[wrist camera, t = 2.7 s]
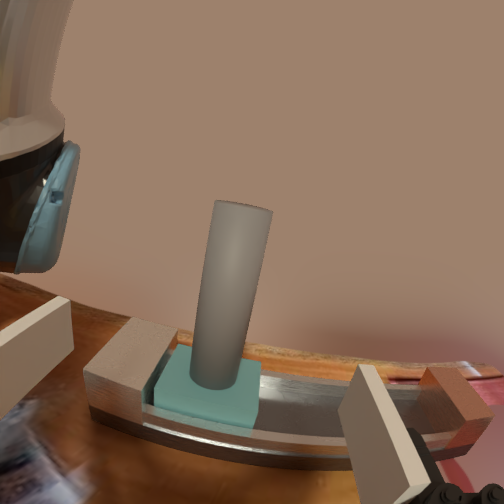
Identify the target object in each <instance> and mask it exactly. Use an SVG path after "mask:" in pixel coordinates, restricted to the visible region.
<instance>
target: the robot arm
mask: <svg viewBox="0 0 504 504" xmlns="http://www.w3.org/2000/svg"><path fill="white" fill-rule="evenodd" d="M73 1H74V0H0V272H7V273H14V274H19V273H43V272H46V271H47V270H50V269H51V268H52V267H53V266H54V265H55V264H56V262H57V260H58V257H59V253H60V250H61V246H62V241H63V237H64V232H65V227H66V223H67V218H68V213H69V208H70V204H71V199H72V194H73V189H74V185H75V180H76V175H77V170H78V165H79V159H80V147H79V146H78V145H77V144H74V143H73V142H72V141H67V142H65V143H64V142H63V136H64V126H65V118H64V116H63V114H62V113H61V112H60V111H59V110H58V109H57V108H56V107H55V106H54V105H53V103H52V101H51V99H50V98H51V91H52V84H53V78H54V73H55V68H56V63H57V59H58V54H59V50H60V45H61V41H62V37H63V34H64V29H65V26H66V23H67V19H68V16H69V13H70V10H71V7H72V4H73ZM73 350H74V341H73V331H72V319H71V302H70V300H69V299H66V298H64V297H61V296H57V297H55V298H54V299H52V300H50V301H49V302H47V303H45V304H44V305H42V306H40V307H39V308H37V309H35V310H34V311H32V312H30V313H29V314H27V315H25V316H24V317H22V318H21V319H19V320H17V321H16V322H14V323H13V324H11V325H9V326H8V327H6V328H5V329H3V330H2V331H0V420H1V419H2V418H3V417H4V416H5V415H6V414H7V413H8V412H9V411H10V410H11V409H12V408H13V407H14V406H15V405H16V404H17V403H18V402H19V401H20V400H21V399H22V398H23V397H24V396H25V395H26V394H27V393H28V392H29V391H30V390H31V389H32V388H33V387H34V386H35V385H37V384H38V383H39V382H40V381H41V380H42V379H43V378H44V377H45V376H46V375H47V374H48V373H49V372H50V371H51V370H52V369H53V368H54V367H56V366H57V365H58V364H59V363H60V362H61V361H62V360H63V359H64V358H65V357H66V356H67V355H68V354H70V353H71V352H72V351H73ZM338 414H339V418H340V421H341V425H342V429H343V433H344V437H345V440H346V444H347V448H348V452H349V456H350V460H351V464H352V468H353V472H354V477H355V481H356V485H357V489H358V494H359V498H360V502H361V504H504V489H503V488H502V487H501V486H499V485H497V484H488V485H487V486H485V487H484V488H483V489H482V490H481V491H480V492H479V493H463V491H462V490H461V489H460V488H459V487H458V486H456V485H454V484H451V483H445V482H444V480H443V477H442V475H441V473H440V471H439V469H438V467H437V465H436V463H435V461H434V459H433V457H432V455H430V451H429V449H428V447H426V446H427V445H426V443H425V441H424V439H423V437H422V436H421V435H420V434H419V433H418V432H417V431H416V430H415V429H414V428H405V425H404V423H403V421H402V419H401V417H400V415H399V413H398V411H397V409H396V407H395V405H394V403H393V402H392V400H391V398H390V396H389V394H388V392H387V390H386V388H385V386H384V384H383V382H382V380H381V378H380V376H379V375H378V373H377V371H376V369H375V367H374V365H363V364H358V366H357V368H356V371H355V373H354V375H353V378H352V380H351V382H350V384H349V387H348V389H347V391H346V393H345V395H344V398H343V400H342V402H341V404H340V406H339V408H338Z"/></svg>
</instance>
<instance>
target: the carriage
mask: <svg viewBox="0 0 504 504" xmlns="http://www.w3.org/2000/svg"><path fill="white" fill-rule="evenodd" d="M272 214H273V211H270V210H268V209H264V208H261V207H257V206H252V205H248V204H242V203H237V202H230V201H221V200H216V201H215V202H214V208H213V213H212V219H211V225H210V230H209V237H208V242H207V248H206V254H205V261H204V267H203V273H202V280H201V286H200V293H199V300H198V307H197V315H196V322H195V329H194V337H193V344H192V347H190V346H186V345H182V344H178V345H177V347H176V349H175V350H174V352H173V354H172V356H171V358H170V360H169V361H168V363H167V365H166V367H165V369H164V370H163V372H162V374H161V376H160V378H159V380H158V382H157V383H156V385H155V387H154V406H155V407H159V408H162V409H165V410H169V411H172V412H176V413H180V414H184V415H187V416H191V417H195V418H200V419H204V420H208V421H213V422H217V423H222V424H227V425H232V426H238V427H243V428H249V429H253V426H254V423H255V420H256V417H257V414H258V406H259V390H260V372H261V362H259V361H254V360H248V359H243V358H241V357H242V353H243V348H244V344H245V339H246V334H247V330H248V326H249V321H250V316H251V312H252V307H253V303H254V299H255V294H256V290H257V285H258V280H259V276H260V271H261V266H262V262H263V257H264V252H265V248H266V243H267V238H268V233H269V229H270V224H271V219H272Z"/></svg>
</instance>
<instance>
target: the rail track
mask: <svg viewBox="0 0 504 504" xmlns="http://www.w3.org/2000/svg"><path fill="white" fill-rule="evenodd" d="M177 336H178V329H176V328H172V327H168V326H165V325H161V324H157V323H154V322H150V321H146V320H143V319H140V318H136V317H132V318H131V319H130V320H129V321H128V322H127V323H126V324H125V325H124V326H123V327H122V328H121V329H120V330H119V331H118V332H117V333H116V334H115V335H114V336H113V337H112V338H111V339H110V340H109V342H108V343H107V344H106V345H105V346H104V347H103V348H102V349H101V350H100V351H99V352H98V353H97V354H96V355H95V356H94V357H93V359H92V360H91V361H90V362H89V363H88V364H87V365H86V366H85V367H84V368H83V373H84V380H85V386H86V392H87V398H88V403H89V408H90V413H91V418H92V420H94V421H97V422H99V423H101V424H104V425H106V426H109V427H111V428H114V429H116V430H119V431H121V432H124V433H127V434H130V435H132V436H135V437H138V438H141V439H144V440H147V441H150V442H153V443H156V444H160V445H163V446H167V447H170V448H174V449H177V450H181V451H185V452H189V453H193V454H197V455H201V456H206V457H210V458H215V459H220V460H226V461H231V462H237V463H243V464H250V465H257V466H265V467H274V468H285V469H298V470H322V471H347V470H353V468H352V464H351V460H350V456H349V452H348V448H347V444H346V440H345V437H344V433H343V429H342V425H341V421H340V418H339V414H338V408H339V406H340V404H341V402H342V400H343V398H344V395H345V393H346V391H347V389H348V387H349V384H350V382H351V381H341V380H331V379H323V378H314V377H307V376H299V375H292V374H286V373H279V372H273V371H267V370H262V369H261V372H260V390H259V406H258V414H257V417H256V420H255V423H254V426H253V429H249V428H243V427H238V426H232V425H227V424H222V423H217V422H213V421H208V420H204V419H200V418H195V417H191V416H187V415H184V414H180V413H176V412H172V411H169V410H165V409H162V408H159V407H155V406H154V387H155V385H156V383H157V382H158V380H159V378H160V376H161V374H162V372H163V370H164V369H165V367H166V365H167V363H168V361H169V360H170V358H171V356H172V354H173V352H174V350H175V349H176V347H177ZM384 386H385V388H386V390H387V392H388V394H389V396H390V398H391V400H392V402H393V403H394V405H395V407H396V409H397V411H398V413H399V415H400V417H401V419H402V421H403V423H404V425H405V428H414V429H415V430H416V431H417V432H418V433H419V434H420V435H421V436H422V437H423V439H424V441H425V443H426V445H427V446H426V447H428V449H429V451H430V455H432V457H433V459H434V461H441V460H446V459H450V458H455V457H459V456H463V455H466V454H467V452H468V451H469V450H470V449H471V447H472V446H473V445H474V444H475V442H476V441H477V440H478V439H479V437H480V436H481V435H482V433H483V432H484V431H485V429H486V428H487V427H488V425H489V424H490V422H491V421H492V420H493V418H494V417H495V414H494V413H493V412H492V411H491V409H490V408H489V407H488V406H487V404H486V403H485V402H484V401H483V399H482V398H481V397H480V396H479V395H478V393H477V392H476V391H475V390H474V389H473V387H472V386H471V385H470V384H469V383H468V381H467V380H466V379H465V378H464V377H463V376H462V374H461V373H460V372H459V371H458V370H457V369H456V368H442V367H427V368H426V370H425V372H424V374H423V376H422V378H421V380H420V382H419V384H418V385H401V384H384Z"/></svg>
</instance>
